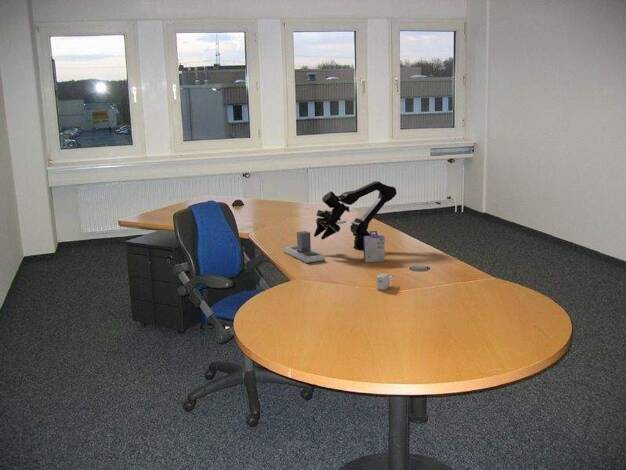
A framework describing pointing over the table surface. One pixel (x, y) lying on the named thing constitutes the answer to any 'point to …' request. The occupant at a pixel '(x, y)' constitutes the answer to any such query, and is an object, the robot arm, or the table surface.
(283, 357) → the table surface
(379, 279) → the power adapter
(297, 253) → the silver compartment tray
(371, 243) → the ink cartridge box
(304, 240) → the steel square peg
